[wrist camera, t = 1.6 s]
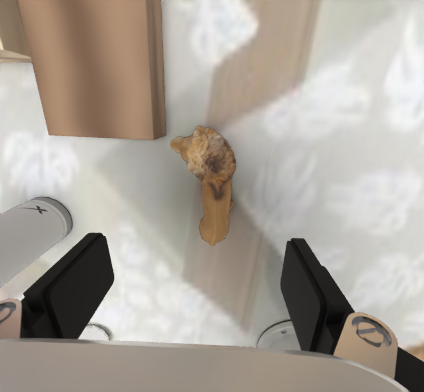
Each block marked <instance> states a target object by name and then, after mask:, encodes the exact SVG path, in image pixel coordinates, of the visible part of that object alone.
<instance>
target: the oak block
mask: <svg viewBox="0 0 424 392" xmlns="http://www.w3.org/2000/svg"><path fill="white" fill-rule="evenodd" d="M0 62H32V60H31V55H30V51H29V47H28V42H27V38H26V34H25V29H24V25H23V21H22V16H21V12H20V8H19V3H18V0H0Z"/></svg>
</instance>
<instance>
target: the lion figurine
mask: <svg viewBox="0 0 424 392" xmlns="http://www.w3.org/2000/svg"><path fill="white" fill-rule="evenodd" d="M170 147H171V149H172V150H174V151H175V152H177V153H180V154H181V155H182V158H183V159H184V160H185V161H186V162H187V168H188V172H192V173H193V174H195V175H196V177H198V178H199V180H200V182H201V184H202V186H201V198H202V204H203V209H204V214H205V217H203V218H202V219H201V221H200V225H199V230H200V234H201V237H202V239H203V240H204V241H207V242H208V243H209V245H210V246H214V245H215V244H216V243H217V242H220V241H222V240H223V239H225V236H226V235H227V233H228V230H229V224H230V217H229V212H230V210H231V208H232V207H233V205H234V203H233V201H232V200H230V199H231V189H232V188H231V178H232V175H233V173H234V171H235V169H236V161H235V158H234V153H233V151H232V150H231V147H230V146H229V144H228V143H227V141H226V140H225V139H223V136H222V135H219V134H217V133H216V132H215V130H214V129H211V128H210V127H208V128H205V127H203V126H196V129H195V131H194V132H193V135H191V136H189V137H181V136H178V137H176V138H175V139H174V140H172V141H171V143H170Z"/></svg>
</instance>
